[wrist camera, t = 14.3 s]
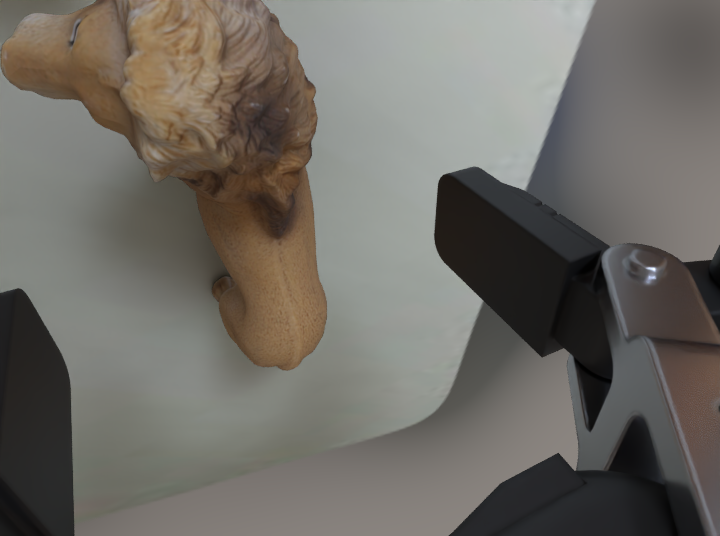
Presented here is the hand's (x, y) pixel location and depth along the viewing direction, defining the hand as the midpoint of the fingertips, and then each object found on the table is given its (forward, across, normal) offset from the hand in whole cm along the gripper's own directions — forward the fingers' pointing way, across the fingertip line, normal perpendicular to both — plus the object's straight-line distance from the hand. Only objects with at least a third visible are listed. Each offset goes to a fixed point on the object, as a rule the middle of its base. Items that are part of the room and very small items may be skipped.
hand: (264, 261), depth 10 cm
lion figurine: (+9, 0, +2) cm, 9 cm away
